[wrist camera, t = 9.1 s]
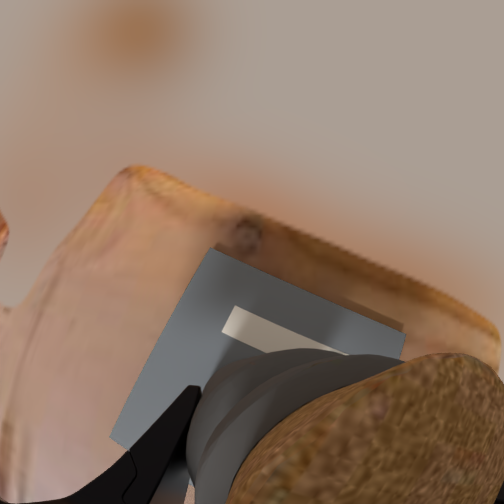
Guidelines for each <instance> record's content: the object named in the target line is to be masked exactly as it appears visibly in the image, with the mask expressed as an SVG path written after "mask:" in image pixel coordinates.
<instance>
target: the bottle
mask: <svg viewBox="0 0 504 504" xmlns="http://www.w3.org/2000/svg"><path fill="white" fill-rule="evenodd" d="M186 460H187V467H188V473H189V475H190V478H191V481H192V483H193V486H194V488H195V504H493V503H494V502H495V500H496V497H497V495H498V493H499V491H500V488H501V486H502V483H503V481H504V384H503V382H502V381H501V380H500V378H499V377H498V375H497V374H496V373H495V371H494V370H493V369H492V368H491V367H490V366H488V365H487V364H485V363H484V362H482V361H481V360H479V359H477V358H475V357H472V356H469V355H466V354H457V353H437V354H429V355H425V356H422V357H418V358H415V359H412V360H409V361H407V362H404V361H401V360H398V359H395V358H391V357H386V356H381V355H373V354H360V355H343V354H340V353H336V352H333V351H327V350H322V349H314V348H296V349H287V350H281V351H275V352H270V353H266V354H262V355H257V356H253V357H249V358H245V359H242V360H238V361H235V362H232V363H230V364H228V365H226V366H224V367H222V368H220V369H219V370H218V371H216V372H215V373H214V374H213V375H212V376H211V377H210V379H209V380H208V382H207V383H206V385H205V387H204V389H203V391H202V396H201V398H200V401H199V403H198V405H197V407H196V410H195V412H194V415H193V417H192V420H191V424H190V428H189V432H188V436H187V445H186Z"/></svg>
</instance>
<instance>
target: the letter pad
mask: <svg viewBox="0 0 504 504" xmlns="http://www.w3.org/2000/svg"><path fill="white" fill-rule="evenodd" d="M405 337H406V334H405V333H402V332H400V331H397V330H395V329H393V328H390V327H388V326H386V325H383V324H381V323H379V322H376V321H374V320H372V319H370V318H367V317H365V316H363V315H360V314H358V313H356V312H353V311H351V310H349V309H346V308H344V307H342V306H340V305H337V304H335V303H333V302H330V301H328V300H326V299H324V298H321V297H319V296H317V295H315V294H312V293H310V292H308V291H305V290H303V289H301V288H299V287H296V286H294V285H292V284H290V283H288V282H285V281H283V280H281V279H279V278H276V277H274V276H272V275H270V274H267V273H265V272H263V271H261V270H259V269H256V268H254V267H252V266H250V265H248V264H245V263H243V262H241V261H239V260H236V259H234V258H232V257H230V256H228V255H226V254H223V253H221V252H219V251H217V250H215V249H212V248H210V249H209V250H208V252H207V254H206V256H205V257H204V259H203V261H202V262H201V264H200V266H199V268H198V269H197V271H196V273H195V274H194V276H193V278H192V280H191V281H190V283H189V285H188V287H187V288H186V290H185V292H184V294H183V296H182V297H181V299H180V301H179V303H178V304H177V306H176V308H175V310H174V312H173V313H172V315H171V317H170V319H169V321H168V323H167V324H166V326H165V328H164V330H163V332H162V334H161V335H160V337H159V339H158V341H157V343H156V345H155V347H154V349H153V350H152V352H151V354H150V356H149V358H148V360H147V362H146V364H145V366H144V368H143V370H142V372H141V373H140V375H139V377H138V379H137V381H136V383H135V385H134V387H133V389H132V391H131V393H130V395H129V397H128V399H127V401H126V403H125V405H124V407H123V409H122V411H121V413H120V415H119V418H118V420H117V422H116V424H115V426H114V428H113V430H112V432H111V434H110V436H109V437H110V438H111V439H112V440H114V441H115V442H117V443H118V444H120V445H121V446H122V447H124V448H125V449H127V450H129V449H130V447H131V446H132V445H133V444H134V443H135V442H136V441H137V440H138V439H139V438H140V437H141V436H142V435H143V434H144V433H145V432H146V431H147V430H148V429H149V427H150V426H151V425H152V424H153V423H154V422H155V421H156V420H157V419H158V418H159V417H160V416H161V415H162V413H163V412H164V411H165V410H166V409H167V408H168V407H169V406H170V405H171V404H172V402H173V401H174V400H175V399H176V398H177V397H178V396H179V395H180V394H181V392H182V391H183V390H184V389H185V388H186V387H187V386H188V385H197V386H200V387H201V391H203V389H204V387H205V385H206V383H207V382H208V380H209V379H210V377H211V376H212V375H213V374H214V373H215V372H216V371H218V370H219V369H220V368H222V367H224V366H226V365H228V364H230V363H232V362H235V361H238V360H242V359H245V358H249V357H253V356H257V355H262V354H266V353H270V352H275V351H281V350H287V349H296V348H314V349H322V350H327V351H333V352H336V353H340V354H343V355H360V354H373V355H381V356H386V357H391V358H395V359H398V360H399V358H400V355H401V351H402V348H403V344H404V341H405ZM189 484H190V485H192V486H193V483H192V481H191V478H190V480H189Z"/></svg>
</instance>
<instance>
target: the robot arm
mask: <svg viewBox="0 0 504 504" xmlns="http://www.w3.org/2000/svg"><path fill="white" fill-rule="evenodd" d="M201 396H202V391H201V387H200V386H197V385H188V386H187V387H186V388H185V389H184V390H183V391H182V392H181V394H180V395H179V396H178V397H177V398H176V399H175V400H174V401H173V402H172V404H171V405H170V406H169V407H168V408H167V409H166V410H165V411H164V412H163V413H162V415H161V416H160V417H159V418H158V419H157V420H156V421H155V422H154V423H153V424H152V425H151V426H150V427H149V429H148V430H147V431H146V432H145V433H144V434H143V435H142V436H141V437H140V438H139V439H138V440H137V441H136V442H135V443H134V444H133V445H132V446H131V447H130V449H129V450H127V451H126V452H125V454H124V455H123V456H122V457H121V458H120V459H119V460H117V461H116V462H115V463H114V464H113V465H112V466H111V467H110V468H108V469H107V470H106V471H105V472H103V473H102V474H101V475H100V476H98V477H97V478H95V479H94V480H93V481H91V482H90V483H88V484H87V485H86V486H84V487H83V488H81V489H80V490H78V491H77V492H75V493H74V494H72V495H70V496H67V497H65V498H61V499H56V500H49V501H42V502H32V503H19V504H184V500H185V496H186V492H187V488H188V484H189V480H190V475H189V473H188V467H187V460H186V445H187V436H188V432H189V428H190V424H191V420H192V417H193V415H194V412H195V410H196V407H197V405H198V403H199V401H200V398H201ZM0 504H13V503H8V502H6V501H5V500H3V499H2V498H1V497H0ZM493 504H504V481H503V483H502V486H501V488H500V491H499V493H498V495H497V497H496V500H495V502H494V503H493Z"/></svg>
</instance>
